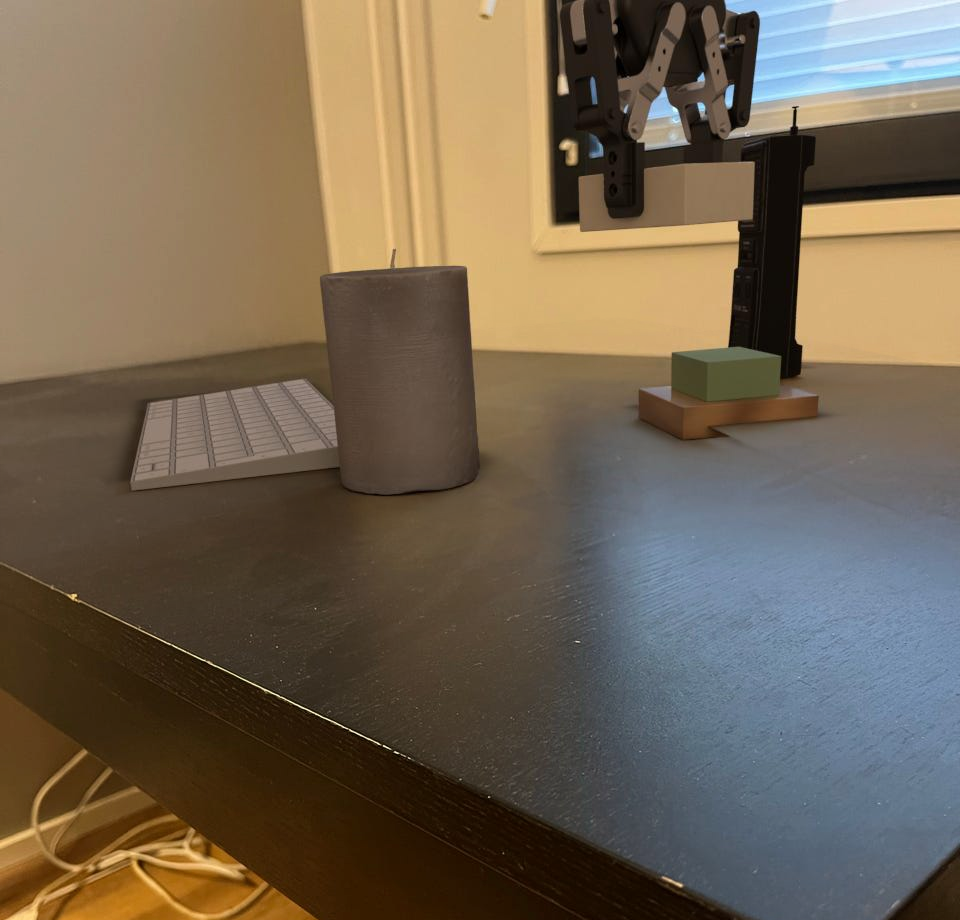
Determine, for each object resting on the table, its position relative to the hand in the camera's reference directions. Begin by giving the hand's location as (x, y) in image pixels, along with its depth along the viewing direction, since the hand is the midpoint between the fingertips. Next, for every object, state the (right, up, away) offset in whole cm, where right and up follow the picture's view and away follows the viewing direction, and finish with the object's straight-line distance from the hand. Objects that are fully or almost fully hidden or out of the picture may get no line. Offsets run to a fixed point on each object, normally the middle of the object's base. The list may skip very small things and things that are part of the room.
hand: (665, 213), depth 57 cm
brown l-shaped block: (+9, -7, +24) cm, 27 cm away
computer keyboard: (-33, -5, +35) cm, 48 cm away
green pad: (+9, -5, +23) cm, 25 cm away
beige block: (0, -1, 0) cm, 1 cm away
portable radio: (+19, +3, +48) cm, 52 cm away
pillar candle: (-16, -14, +12) cm, 24 cm away
